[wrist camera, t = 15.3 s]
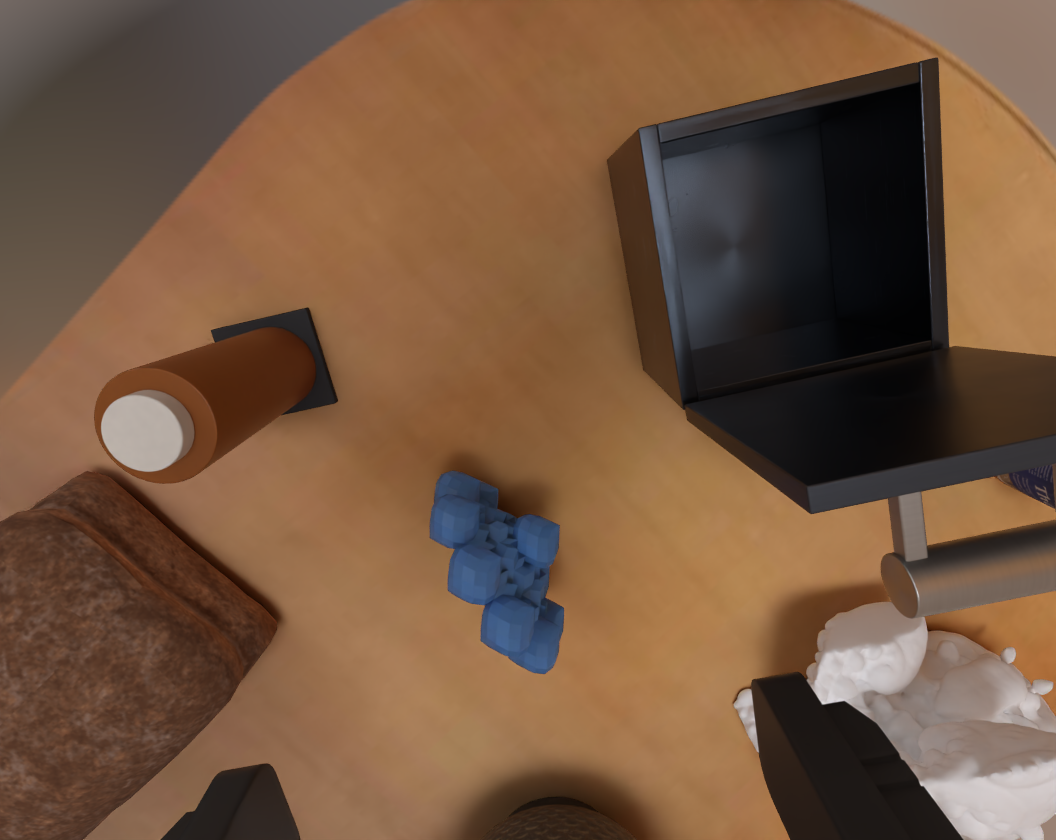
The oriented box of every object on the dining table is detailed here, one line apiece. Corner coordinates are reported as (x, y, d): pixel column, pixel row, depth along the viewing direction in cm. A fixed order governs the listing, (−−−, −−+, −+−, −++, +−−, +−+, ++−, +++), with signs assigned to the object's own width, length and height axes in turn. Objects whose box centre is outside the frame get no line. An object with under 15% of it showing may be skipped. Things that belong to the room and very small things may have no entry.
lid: (806, 486, 16) (834, 683, 17) (1307, 382, 16) (1304, 592, 17) (683, 404, 29) (704, 519, 30) (955, 345, 28) (966, 465, 29)
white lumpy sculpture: (1176, 881, 39) (1042, 1141, 29) (862, 718, 56) (710, 848, 46) (1200, 611, 35) (1054, 807, 25) (854, 523, 52) (685, 620, 42)
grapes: (601, 552, 42) (633, 667, 31) (520, 602, 43) (521, 732, 32) (503, 417, 40) (497, 487, 28) (419, 474, 41) (379, 565, 29)
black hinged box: (606, 159, 36) (638, 128, 26) (825, 107, 35) (939, 56, 26) (643, 370, 39) (682, 410, 29) (843, 326, 38) (950, 352, 29)
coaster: (214, 329, 38) (210, 330, 37) (308, 307, 38) (305, 308, 37) (247, 421, 39) (244, 423, 39) (338, 401, 39) (335, 403, 39)
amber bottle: (222, 336, 37) (55, 387, 24) (301, 318, 37) (178, 359, 24) (250, 414, 39) (106, 504, 25) (326, 397, 39) (223, 478, 25)
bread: (300, 617, 43) (225, 743, 32) (45, 842, 48) (-94, 1018, 37) (100, 447, 40) (-59, 524, 29) (-152, 709, 45) (-370, 861, 34)
